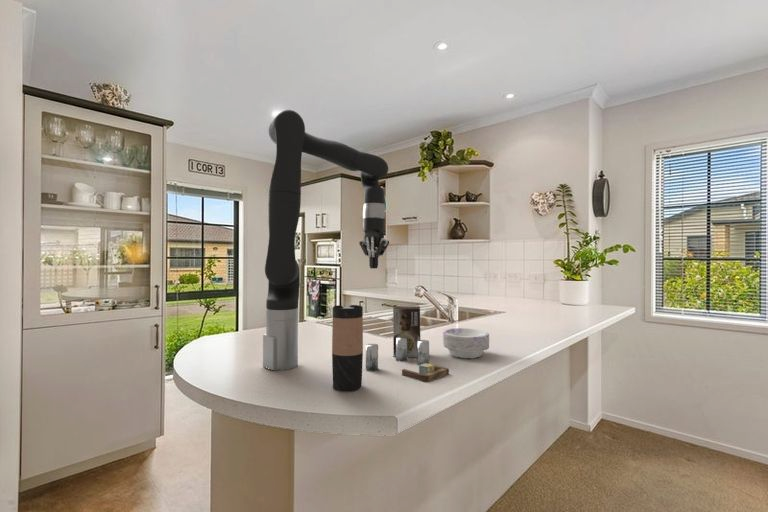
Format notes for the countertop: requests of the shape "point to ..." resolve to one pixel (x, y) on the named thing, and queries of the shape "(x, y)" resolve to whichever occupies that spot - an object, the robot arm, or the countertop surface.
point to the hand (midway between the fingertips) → (373, 268)
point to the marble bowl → (465, 342)
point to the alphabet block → (426, 368)
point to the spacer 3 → (422, 352)
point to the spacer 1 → (371, 357)
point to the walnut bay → (427, 377)
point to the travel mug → (347, 347)
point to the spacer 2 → (401, 348)
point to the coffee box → (406, 327)
